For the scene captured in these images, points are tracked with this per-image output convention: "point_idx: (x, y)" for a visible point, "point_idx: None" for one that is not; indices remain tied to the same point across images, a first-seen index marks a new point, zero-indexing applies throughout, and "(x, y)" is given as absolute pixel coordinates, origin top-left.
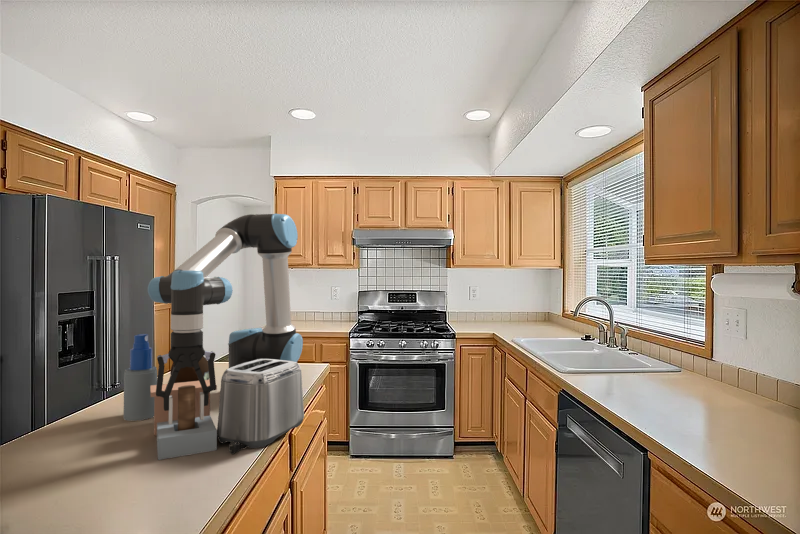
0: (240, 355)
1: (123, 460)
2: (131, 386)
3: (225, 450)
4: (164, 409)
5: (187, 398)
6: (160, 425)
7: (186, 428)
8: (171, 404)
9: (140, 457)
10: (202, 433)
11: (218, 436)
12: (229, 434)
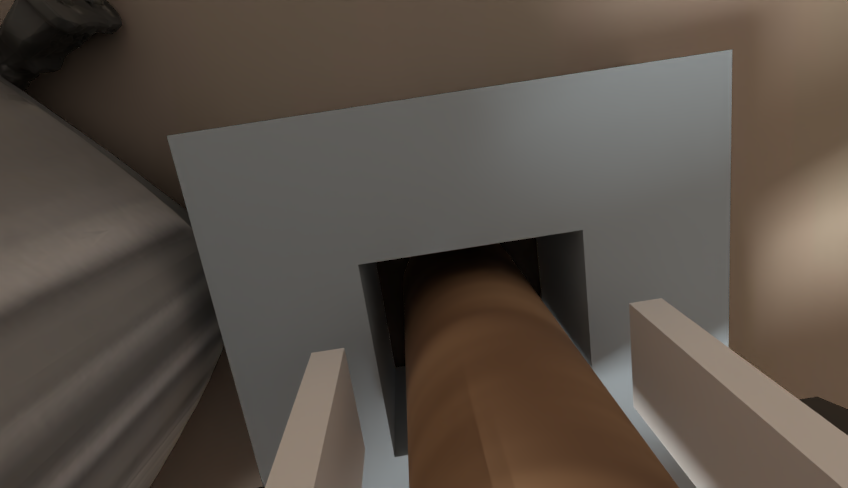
0: None
1: (845, 141)
2: None
3: (163, 98)
4: (838, 406)
5: None
6: None
7: (477, 279)
8: (803, 435)
9: (744, 161)
10: (313, 114)
11: None
12: (77, 157)
